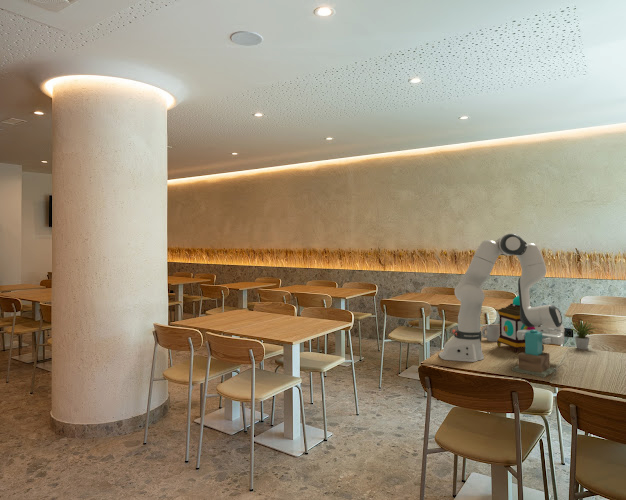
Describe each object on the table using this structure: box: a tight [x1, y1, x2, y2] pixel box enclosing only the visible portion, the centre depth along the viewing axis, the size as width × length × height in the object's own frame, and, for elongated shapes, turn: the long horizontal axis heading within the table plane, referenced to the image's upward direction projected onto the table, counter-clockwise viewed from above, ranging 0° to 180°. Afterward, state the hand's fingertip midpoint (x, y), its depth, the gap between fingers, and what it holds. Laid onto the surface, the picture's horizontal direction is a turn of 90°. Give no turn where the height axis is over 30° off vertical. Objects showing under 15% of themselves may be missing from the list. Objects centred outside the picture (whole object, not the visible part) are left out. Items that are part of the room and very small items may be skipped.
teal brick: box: [524, 330, 543, 356], centre depth 209 cm, size 6×6×11 cm
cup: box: [481, 324, 500, 343], centre depth 272 cm, size 7×10×9 cm
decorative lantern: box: [496, 295, 545, 354], centre depth 250 cm, size 20×20×30 cm
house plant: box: [571, 319, 599, 350], centre depth 247 cm, size 14×14×16 cm
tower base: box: [511, 350, 557, 378], centre depth 210 cm, size 14×14×8 cm
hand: (532, 339), depth 209 cm, fingers open, 8 cm apart
